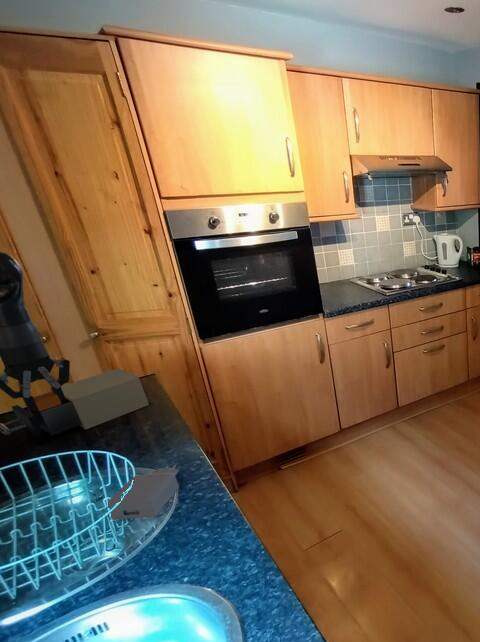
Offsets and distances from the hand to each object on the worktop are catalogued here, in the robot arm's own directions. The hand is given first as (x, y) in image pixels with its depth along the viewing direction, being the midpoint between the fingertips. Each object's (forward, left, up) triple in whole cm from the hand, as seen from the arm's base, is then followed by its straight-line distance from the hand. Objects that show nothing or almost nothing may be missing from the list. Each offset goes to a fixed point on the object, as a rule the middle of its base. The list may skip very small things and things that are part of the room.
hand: (47, 404), depth 111 cm
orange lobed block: (0, +2, 0) cm, 2 cm away
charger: (+3, -36, -15) cm, 39 cm away
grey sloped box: (+15, +17, -15) cm, 27 cm away
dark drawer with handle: (+3, +17, -14) cm, 22 cm away
